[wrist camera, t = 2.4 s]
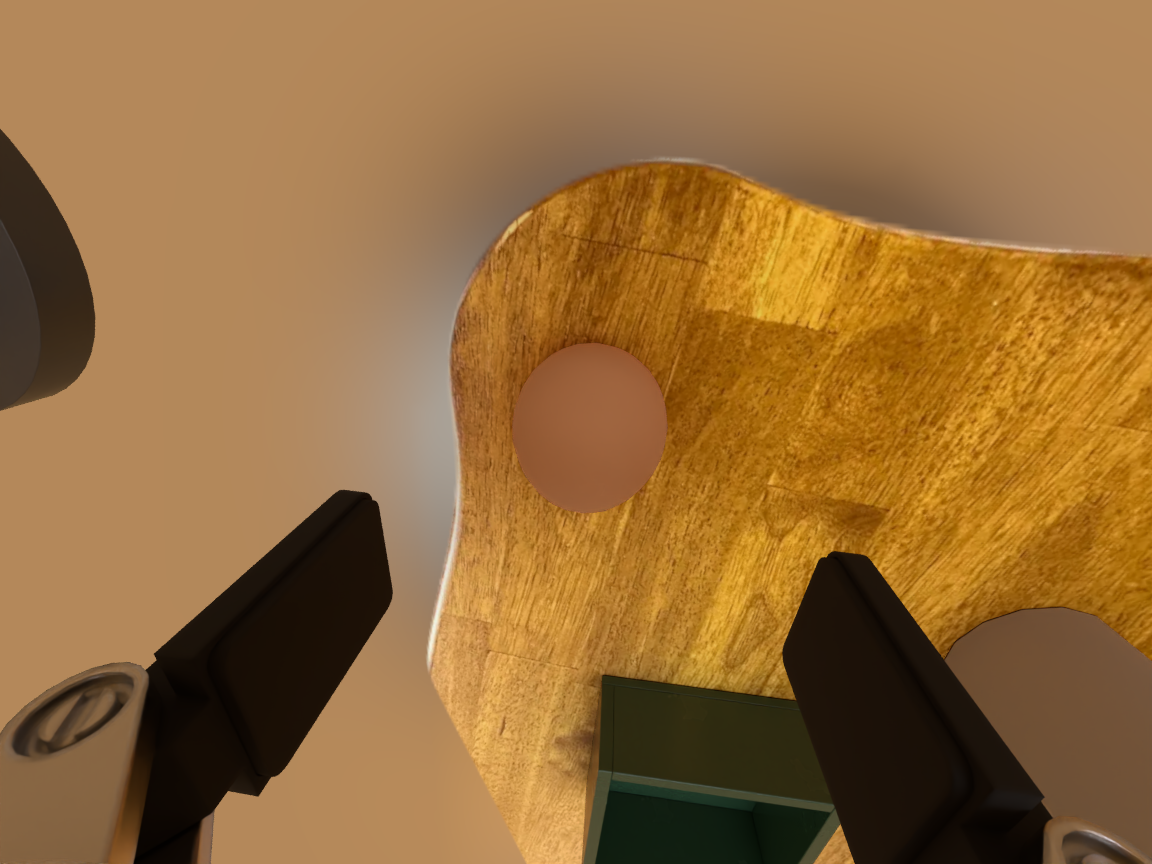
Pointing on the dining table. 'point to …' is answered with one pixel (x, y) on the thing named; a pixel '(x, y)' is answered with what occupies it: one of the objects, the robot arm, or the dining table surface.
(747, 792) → the dark green open crate
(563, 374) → the egg
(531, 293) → the dining table surface
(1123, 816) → the cup
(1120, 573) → the dining table surface
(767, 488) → the dining table surface
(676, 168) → the dining table surface
